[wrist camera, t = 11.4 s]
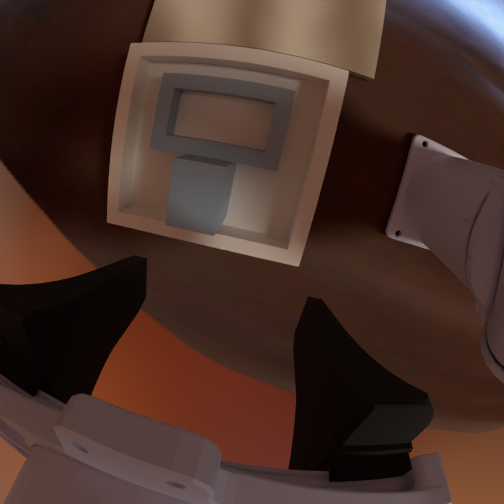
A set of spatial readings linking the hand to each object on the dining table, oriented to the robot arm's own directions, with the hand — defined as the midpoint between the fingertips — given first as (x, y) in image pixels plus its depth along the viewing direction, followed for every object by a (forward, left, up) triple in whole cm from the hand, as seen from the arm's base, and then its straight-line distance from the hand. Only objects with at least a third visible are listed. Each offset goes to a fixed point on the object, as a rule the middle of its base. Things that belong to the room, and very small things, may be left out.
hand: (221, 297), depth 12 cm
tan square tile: (+2, -20, -9) cm, 22 cm away
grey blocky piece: (+3, -5, -9) cm, 11 cm away
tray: (+3, -6, -9) cm, 11 cm away
